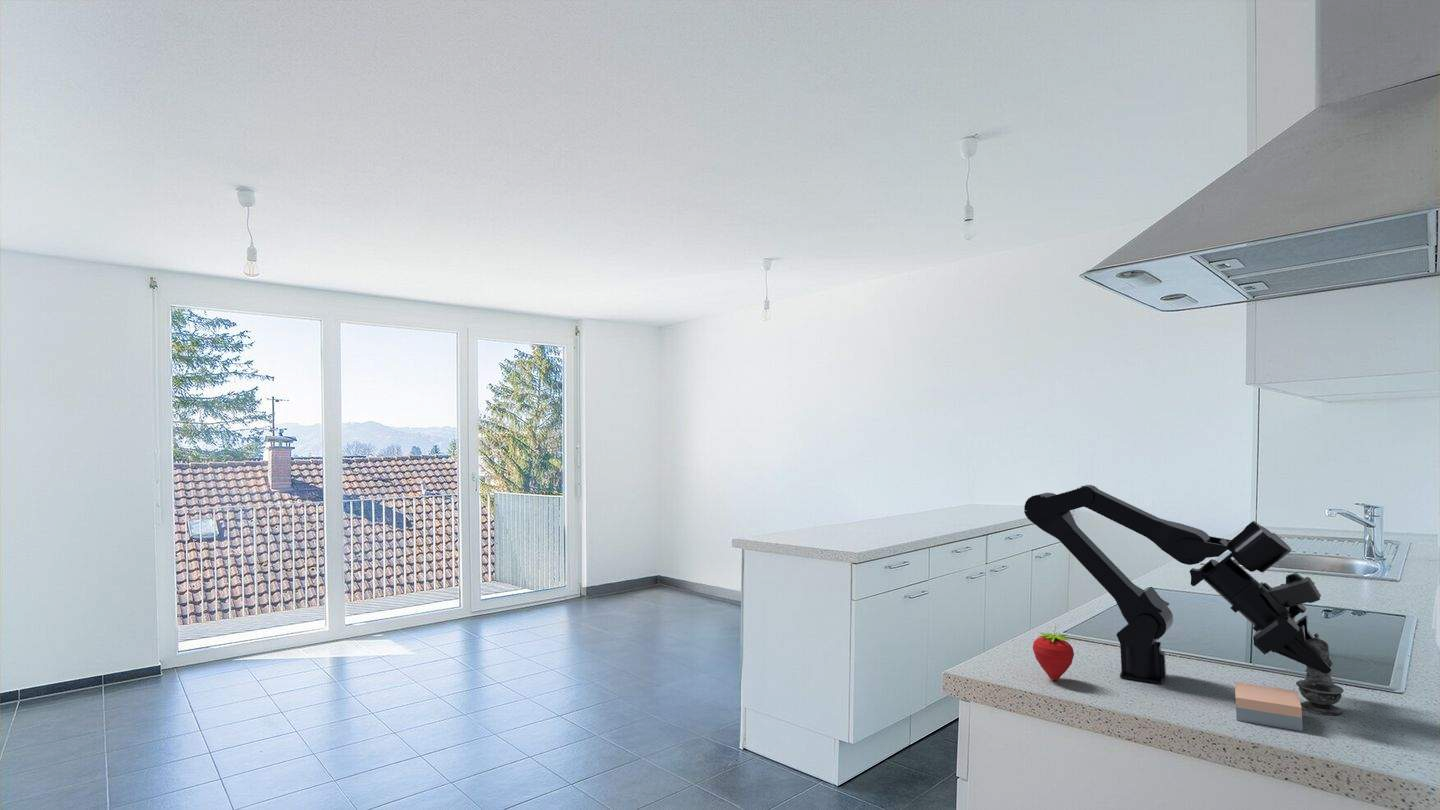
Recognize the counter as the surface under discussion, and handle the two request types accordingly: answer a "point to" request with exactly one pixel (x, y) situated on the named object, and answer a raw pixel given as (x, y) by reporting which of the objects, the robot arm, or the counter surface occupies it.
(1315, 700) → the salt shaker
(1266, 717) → the peach and grey block
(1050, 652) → the strawberry
